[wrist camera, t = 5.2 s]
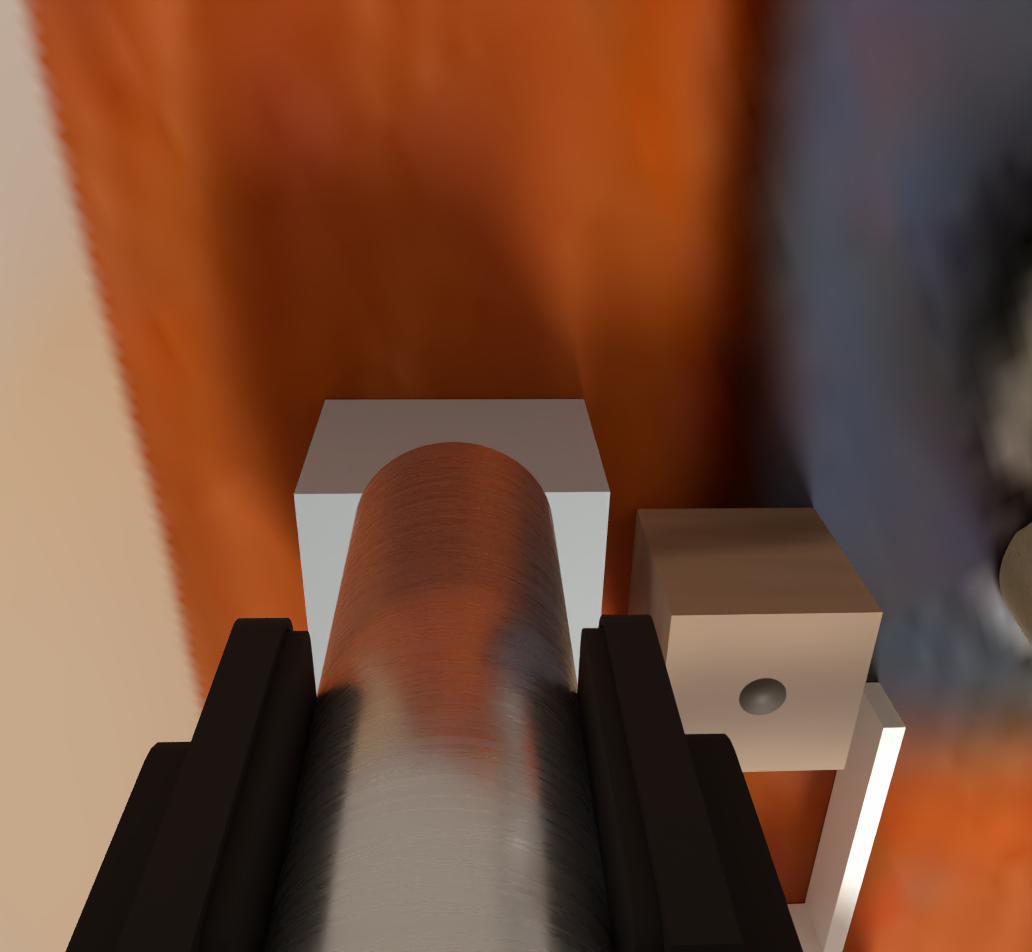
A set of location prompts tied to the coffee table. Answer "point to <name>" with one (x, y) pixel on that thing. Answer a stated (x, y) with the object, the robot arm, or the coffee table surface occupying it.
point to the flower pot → (1018, 579)
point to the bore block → (418, 422)
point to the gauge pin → (446, 731)
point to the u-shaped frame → (850, 825)
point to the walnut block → (757, 629)
